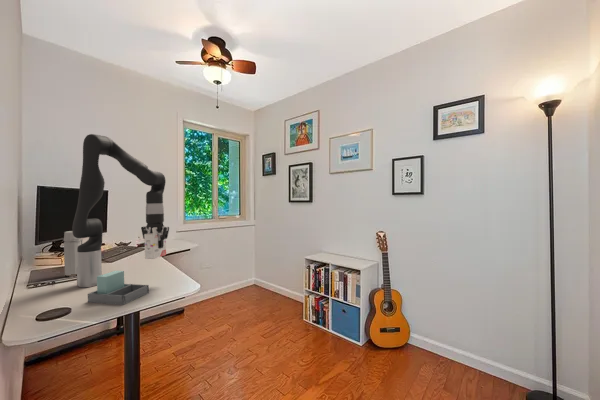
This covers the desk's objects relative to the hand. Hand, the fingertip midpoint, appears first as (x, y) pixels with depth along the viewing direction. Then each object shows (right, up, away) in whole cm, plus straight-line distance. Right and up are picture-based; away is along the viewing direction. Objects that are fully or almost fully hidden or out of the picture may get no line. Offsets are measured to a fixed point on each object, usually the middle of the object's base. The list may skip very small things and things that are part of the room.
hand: (155, 247), depth 124 cm
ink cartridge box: (0, -5, 0) cm, 5 cm away
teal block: (-12, -19, -12) cm, 26 cm away
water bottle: (-58, -20, +22) cm, 66 cm away
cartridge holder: (-8, -19, -13) cm, 25 cm away
